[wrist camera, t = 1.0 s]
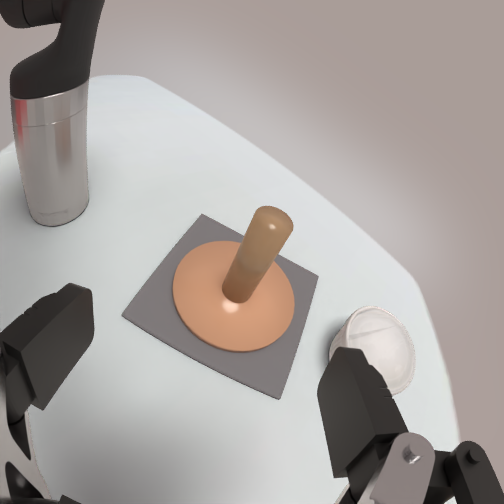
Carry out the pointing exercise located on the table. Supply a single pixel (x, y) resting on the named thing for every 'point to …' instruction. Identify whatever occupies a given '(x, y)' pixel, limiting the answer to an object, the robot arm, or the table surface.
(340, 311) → the table surface
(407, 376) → the ramekin
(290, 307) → the lid
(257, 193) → the table surface
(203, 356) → the mat
